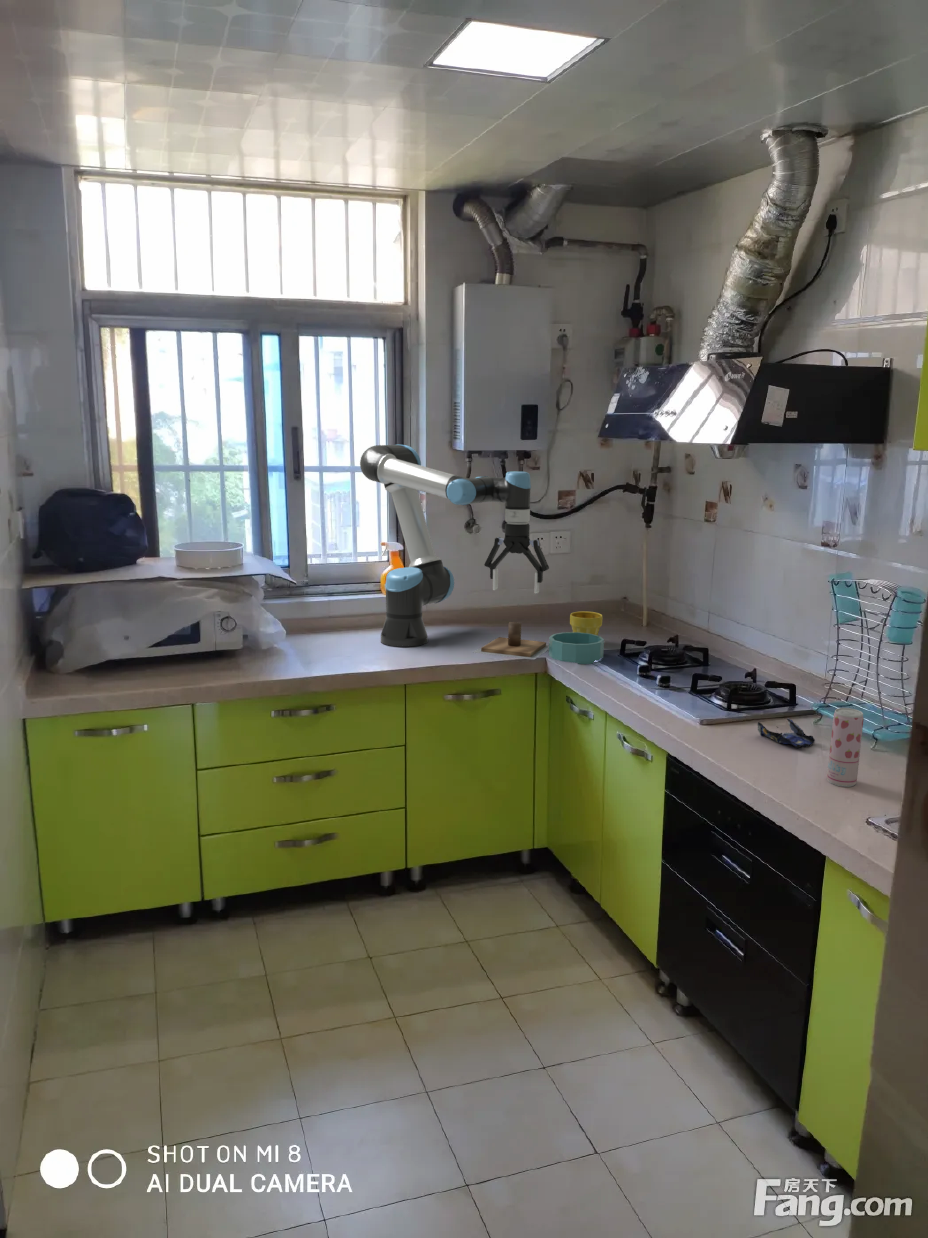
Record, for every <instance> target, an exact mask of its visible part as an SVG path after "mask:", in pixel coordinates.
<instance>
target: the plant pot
mask: <svg viewBox="0 0 928 1238" xmlns="http://www.w3.org/2000/svg"><path fill="white" fill-rule="evenodd" d="M603 618H604V617H603V614H601V613H599V612H594V611H586V610H585V611H575V612H571V613H570V615H569V625H570V626H571V629H572V632H580V633H590V634H594V635H598V636H599V631H600V628H601V627H602V626H603Z"/></svg>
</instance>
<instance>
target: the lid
mask: <svg viewBox="0 0 928 1238" xmlns="http://www.w3.org/2000/svg"><path fill="white" fill-rule="evenodd" d="M507 626H508V627H507V629H508V630H507V631H508V632H507V633H508V635H507V637H503V636H502V637H501V636H499V637H497V638H495V640H494V639H493V640H494V641H493V640H491V641H492V642H491V641H489V642H490V643H489V642H488V643H489V644H488V643H486V644H487V645H486V644H485V646H484V645H483V646H484V647H483V646H481V647H482V648H481V647H480V648H481V652H489V653H498V654H506V655H515V656H523V657H531V656H533V655H534V654H536V653H537V652H538V651H540V650H541V649H543V648H544V647H545V646H546V644H547V642H546V641H540V640H531V639H530V640H527V639H522V622H518V621H509V622H508V625H507Z"/></svg>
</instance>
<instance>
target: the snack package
mask: <svg viewBox="0 0 928 1238" xmlns="http://www.w3.org/2000/svg"><path fill="white" fill-rule="evenodd" d="M785 719H786V720H787V722H788V726H789V727H790V730H791V731H792V732H787V731H786V732H780V733H779V732H776V731H775V732H773V731H770V730H769V729H768V728H766V726H765V725H764V724H762V723H761V722H760V721H758V722H757V731H758V734H759V736H761V737H762V736H765V737H767V738H769V739H771V740H773V741H775V742H776V743H779V744H784V745H792V746H794V747H795V748H796V749H799V748H801V747H802V746H803V747H804V748H807V747H811V746H813V744H815V741H816V740H815V738H814V736H813V735H807V734H806V733H804V730H803V729H802V728H801V727H800V726H799V725H798V724H797V723H796V722H794V721H793V720H792V719H790V718H789V717H788V718H785V717H784V720H785ZM776 728H779V726H776Z"/></svg>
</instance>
